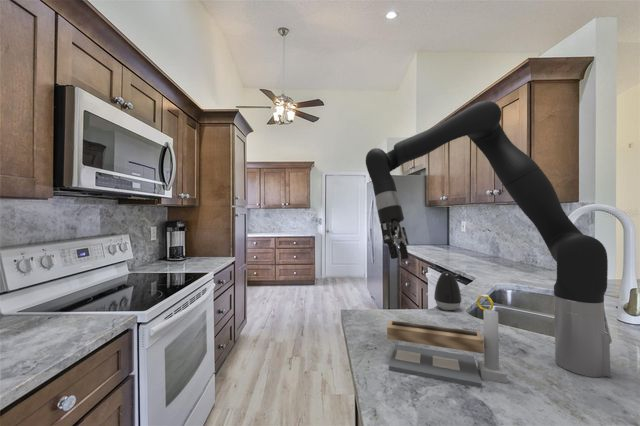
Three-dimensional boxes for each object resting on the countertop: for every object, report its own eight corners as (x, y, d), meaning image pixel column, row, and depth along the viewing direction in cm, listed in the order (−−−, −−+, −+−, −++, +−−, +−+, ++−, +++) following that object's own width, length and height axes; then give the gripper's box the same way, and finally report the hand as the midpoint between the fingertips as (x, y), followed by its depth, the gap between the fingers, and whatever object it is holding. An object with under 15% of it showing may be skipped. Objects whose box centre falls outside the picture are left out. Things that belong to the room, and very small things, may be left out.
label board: (497, 364, 72) (496, 305, 72) (511, 393, 59) (510, 322, 60) (395, 347, 81) (394, 295, 81) (389, 370, 69) (388, 308, 69)
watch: (494, 311, 112) (495, 297, 112) (490, 313, 111) (491, 298, 111) (479, 306, 117) (480, 292, 117) (475, 307, 116) (476, 293, 116)
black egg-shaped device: (465, 313, 110) (465, 274, 110) (437, 312, 111) (437, 273, 112) (457, 305, 120) (456, 269, 120) (431, 304, 121) (431, 269, 122)
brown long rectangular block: (479, 343, 70) (479, 329, 70) (483, 353, 65) (483, 338, 65) (390, 330, 78) (389, 317, 78) (387, 338, 73) (386, 325, 73)
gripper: (391, 200, 81) (403, 255, 77) (408, 208, 93) (420, 256, 88) (368, 208, 86) (379, 260, 81) (387, 214, 97) (397, 261, 92)
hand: (400, 258), depth 85 cm, fingers open, 8 cm apart
